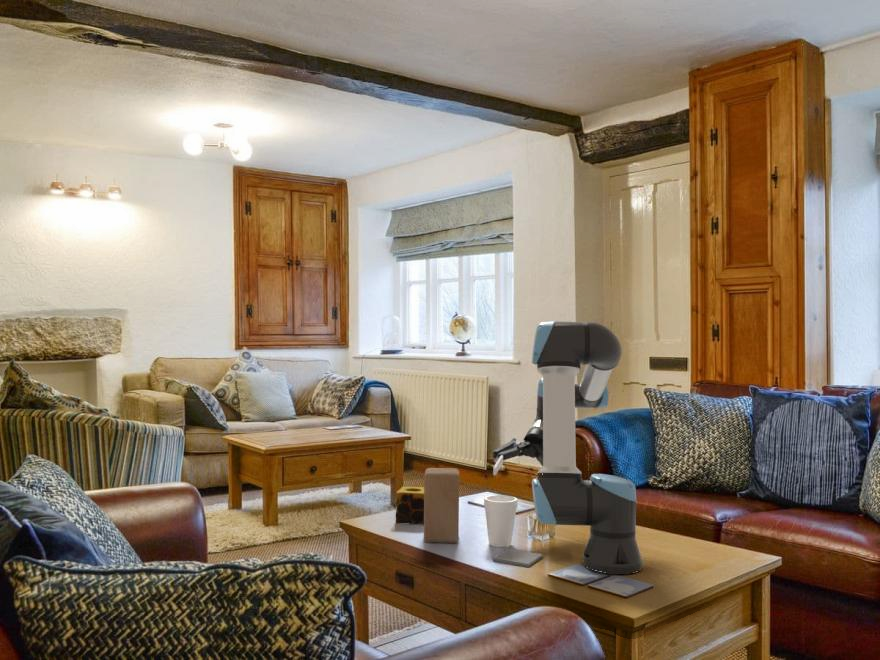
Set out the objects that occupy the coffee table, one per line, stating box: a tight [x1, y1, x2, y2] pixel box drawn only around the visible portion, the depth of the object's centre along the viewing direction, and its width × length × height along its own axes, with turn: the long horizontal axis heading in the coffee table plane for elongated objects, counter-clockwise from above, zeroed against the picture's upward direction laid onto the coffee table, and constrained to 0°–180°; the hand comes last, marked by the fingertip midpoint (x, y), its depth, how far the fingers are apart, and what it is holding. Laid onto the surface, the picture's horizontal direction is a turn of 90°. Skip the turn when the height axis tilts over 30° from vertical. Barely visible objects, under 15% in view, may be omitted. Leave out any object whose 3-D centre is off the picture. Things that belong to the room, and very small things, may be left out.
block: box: [423, 467, 460, 544], centre depth 226 cm, size 10×10×20 cm
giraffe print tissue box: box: [395, 486, 424, 525], centre depth 247 cm, size 10×10×10 cm
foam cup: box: [483, 494, 518, 548], centre depth 221 cm, size 10×9×13 cm
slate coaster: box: [493, 548, 544, 568], centre depth 207 cm, size 10×10×1 cm
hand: (515, 477), depth 226 cm, fingers open, 13 cm apart
